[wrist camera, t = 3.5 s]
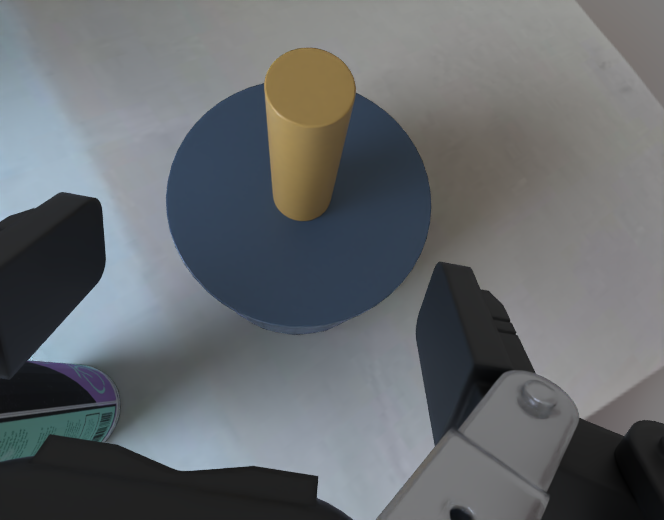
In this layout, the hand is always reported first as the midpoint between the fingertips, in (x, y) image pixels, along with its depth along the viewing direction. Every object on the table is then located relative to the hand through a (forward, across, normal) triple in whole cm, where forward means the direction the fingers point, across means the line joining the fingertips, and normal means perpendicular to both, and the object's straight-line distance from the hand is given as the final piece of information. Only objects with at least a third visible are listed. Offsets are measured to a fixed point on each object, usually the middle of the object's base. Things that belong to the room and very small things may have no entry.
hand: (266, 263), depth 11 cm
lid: (+13, 0, +4) cm, 14 cm away
